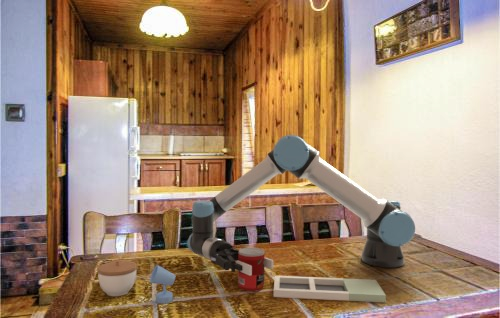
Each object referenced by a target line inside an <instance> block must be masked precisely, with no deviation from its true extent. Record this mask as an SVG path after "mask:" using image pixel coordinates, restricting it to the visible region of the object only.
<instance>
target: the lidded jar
mask: <svg viewBox="0 0 500 318" xmlns="http://www.w3.org/2000/svg"><path fill="white" fill-rule="evenodd" d="M137 269H138V264H137V263H136V262H135V261H131V260H120V259H116V260H113V261H110V262H106V263H103V264H100V265H99V266H98V267H97V273H98V274H97V275H98V276H97V277H98V284H99V286H100V289H101V290H102V291H103V292H104V293H105V294H106V295H107V296H109V297H120V296H125V295H127V294H128V293H129V291H130V290H131V289H132V288H133V286H134V285H135V282H136V279H137Z"/></svg>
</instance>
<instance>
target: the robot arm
mask: <svg viewBox="0 0 500 318" xmlns="http://www.w3.org/2000/svg"><path fill="white" fill-rule="evenodd" d="M287 171H288V172H289V173H290V174H292V175H293V176H295V177H296V178H297V179H298V180H302V179H306V180H307V181H309V182H310V183H312V184H313V185H314V186H315V187H317V188H319V189H320V190H321V191H323V192H324V193H325V194H326V195H328V196H330V197H331V198H333V200H335V201H337V202H338V203H339V204H341V205H342V206H343V207H344V208H346V209H347V210H349V211H350V212H352V213H353V214H355V215H356V216H357V217H358V218H360V219H362V223H363V227H365V228H366V240H365V244H364V246H363V249H362V252H361V262H363V263H365V264H367V265H370V266H374V267H379V268H399V267H403V266H404V265H405V256H404V252H403V250H402V249H403V248H402V246H405V245H406V244H408V243H410V242H411V241H412V239H413V238H414V236H415V234H416V224H415V221H414V220H413V218H412V217H411V215H410V214H408V212H406V211H403V210H402V209H401V208H402V207H401V203H400V201H398V200H397V201H396V200H387V199H386V198H377V197H376V196H374V195H372V193H370V192H369V191H368V190H366V189H364V188H363V187H361V186H360V185H359V184H357V183H356V182H354V181H353V180H352V179H350V178H349V177H347V176H346V175H345V174H343V173H341V171H339V170H338V169H336V168H335V167H333V166H332V165H330V164H329V163H327V161H325V160H323V159H322V158H321V157H320V151H318V150H317V149H316V148H315V147H313V146H312V145H310V144H309V143H307V142H306V141H305V139H304V138H303V137H300V136H298V135H295V134H294V135H293V134H289V135H284V136H282V137H281V138H279V140H277V141H276V144H274V147H273V149H272V150H271V151H270V152H268V153H267V154H266V157H265V158H264V159H263V160H262V161H260V162H259V163H258V164H257V165H255V166H254V167H253V168H251V169H249V171H247V172H246V173H244V174H243V175H242V176H240V177H239V178H238V179H236V180H235V181H234V182H232V183H231V184H229V185H228V186H227V187H225V188H224V189H223V190H221V192H219V193H218V194H217V195H215V196H214V197H212V198H211V199H209V200H196V201H194V202H193V203H192V210H191V214H192V215H191V216H192V233H191V234H190V235H189V237H188V239H187V241H186V242H187V248H188V249H189V251H190V252H192V253H194V254H195V255H196V256H197V255H198V256H201V257H204V258H206V259H208V260H211V261H210V262H211V264H216V265H217V266H218V267H220V268H222V269H223V270H224V271H229V270H230V271H231V273H235V272H236V271H240V272H242V273H245V274H247V275H249V276H250V275H252V266H251V265H249V264H246V263H244V262H241V261H238V252H239V250H240V249H237V248H236V247H233V246H232V244H231V243H230V242H229V241H226V240H223V239H221V238H218V237H214V222H215V221H216V220H217V219H218V218H220V217H221V216H223V215H224V214H225V213H226V212H228V211H229V210H231V209H232V208H234V207H235V206H236V205H237V204H239V203H240V202H241V201H243V200H245V199H246V198H248V197H249V196H250V195H251V194H253V193H254V192H256V191H257V190H258V189H259V188H261V187H262V186H263V185H265V184H266V183H268V182H269V181H271V180H272V179H273V178H275V177H276V176H278V175H283V174H284V173H286V172H287ZM264 268H265V269H269V270H274V259H272V258H268V257H266V256H265V267H264Z"/></svg>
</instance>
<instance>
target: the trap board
mask: <svg viewBox="0 0 500 318" xmlns="http://www.w3.org/2000/svg"><path fill="white" fill-rule="evenodd" d="M273 298H287V299H289V298H290V299H308V300H328V301H329V300H330V301H349V302H350V301H351V302H352V301H353V302H371V303H387V295H386V293H385V292H384V290H383V288H382V287H381V286H380V284H379V283H378V281H377V280H376V279H368V278H367V279H366V278H365V279H363V278H342V277H340V278H339V277H315V276H296V275H295V276H294V275H293V276H291V275H275V276H274V284H273Z"/></svg>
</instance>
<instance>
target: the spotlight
mask: <svg viewBox="0 0 500 318" xmlns="http://www.w3.org/2000/svg"><path fill="white" fill-rule="evenodd" d="M175 280H176V274H174V273H172V272H171V271H169V270H167V269H165V268H164V267H162V266H161V265H158V264H156V265H155V266H154V268H153V270H152V272H151V275H150V279H149V283H150V284H157V285H162V291H159V292H157V293H156V294H155V302H156V303H158V304H169V303H172V302H173V300H174V299H173V297H174V295H173V292H172V291H168V290H167V286H173V284H174V283H175Z"/></svg>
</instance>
